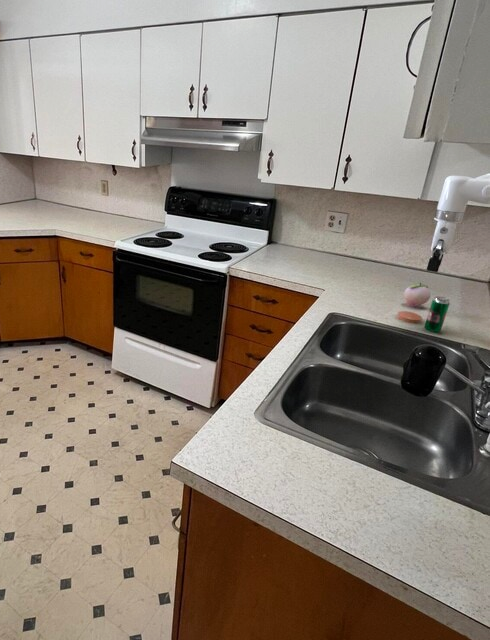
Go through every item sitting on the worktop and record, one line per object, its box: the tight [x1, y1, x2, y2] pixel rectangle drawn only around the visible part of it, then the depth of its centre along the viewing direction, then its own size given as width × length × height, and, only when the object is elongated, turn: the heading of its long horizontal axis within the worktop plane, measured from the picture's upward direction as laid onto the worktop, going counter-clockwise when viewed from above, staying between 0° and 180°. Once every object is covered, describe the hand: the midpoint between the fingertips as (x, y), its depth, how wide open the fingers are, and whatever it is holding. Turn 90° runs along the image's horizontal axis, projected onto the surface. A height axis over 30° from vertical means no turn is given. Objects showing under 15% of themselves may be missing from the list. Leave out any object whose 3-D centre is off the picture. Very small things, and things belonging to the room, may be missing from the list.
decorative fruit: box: [403, 282, 432, 307], centre depth 168 cm, size 9×8×10 cm
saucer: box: [396, 310, 423, 324], centre depth 157 cm, size 8×8×1 cm
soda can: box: [423, 295, 450, 334], centre depth 146 cm, size 5×5×12 cm
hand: (433, 267), depth 141 cm, fingers open, 9 cm apart
